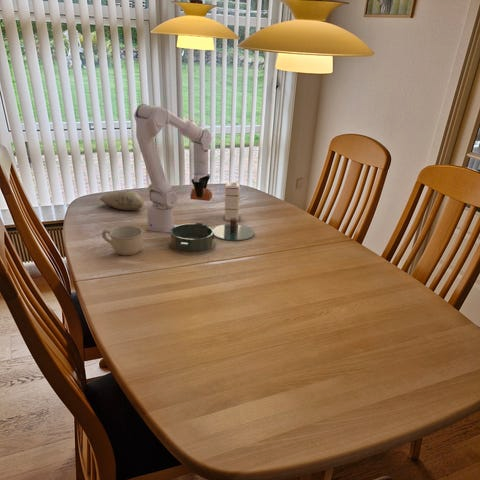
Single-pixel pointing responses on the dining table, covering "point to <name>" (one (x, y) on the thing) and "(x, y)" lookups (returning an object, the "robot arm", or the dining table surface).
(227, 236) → the lid
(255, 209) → the dining table surface
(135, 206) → the rock
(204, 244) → the pot
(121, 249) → the teacup
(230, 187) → the white toy tower
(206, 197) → the bread
